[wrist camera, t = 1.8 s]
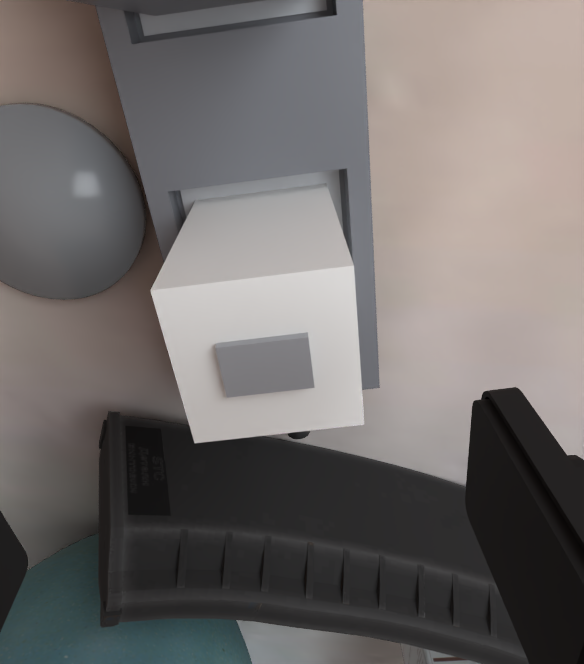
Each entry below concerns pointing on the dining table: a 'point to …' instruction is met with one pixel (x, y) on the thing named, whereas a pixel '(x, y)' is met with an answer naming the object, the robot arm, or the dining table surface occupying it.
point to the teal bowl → (84, 623)
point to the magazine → (291, 542)
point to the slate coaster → (64, 205)
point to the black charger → (161, 5)
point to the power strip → (252, 116)
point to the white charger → (262, 316)
